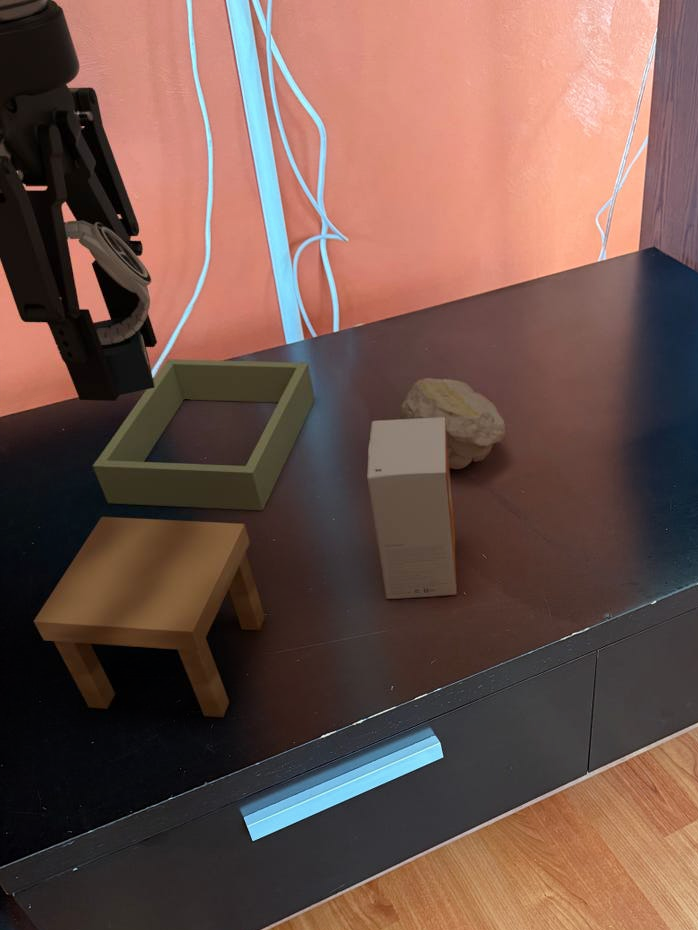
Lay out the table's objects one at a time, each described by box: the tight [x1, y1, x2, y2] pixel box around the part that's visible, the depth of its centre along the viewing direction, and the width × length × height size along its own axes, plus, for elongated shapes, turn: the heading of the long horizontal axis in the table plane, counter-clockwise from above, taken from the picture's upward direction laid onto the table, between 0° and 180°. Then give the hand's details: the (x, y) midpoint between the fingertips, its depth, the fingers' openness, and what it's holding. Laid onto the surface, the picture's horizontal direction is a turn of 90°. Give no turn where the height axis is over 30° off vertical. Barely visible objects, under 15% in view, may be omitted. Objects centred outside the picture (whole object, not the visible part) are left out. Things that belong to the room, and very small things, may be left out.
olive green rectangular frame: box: [92, 358, 316, 511], centre depth 98 cm, size 16×20×4 cm
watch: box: [64, 220, 155, 401], centre depth 67 cm, size 6×8×11 cm
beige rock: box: [400, 377, 506, 470], centre depth 95 cm, size 12×8×10 cm
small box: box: [366, 417, 458, 600], centre depth 80 cm, size 8×6×13 cm
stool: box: [33, 516, 266, 718], centre depth 75 cm, size 12×12×10 cm
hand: (119, 369), depth 70 cm, fingers closed on watch, 7 cm apart
